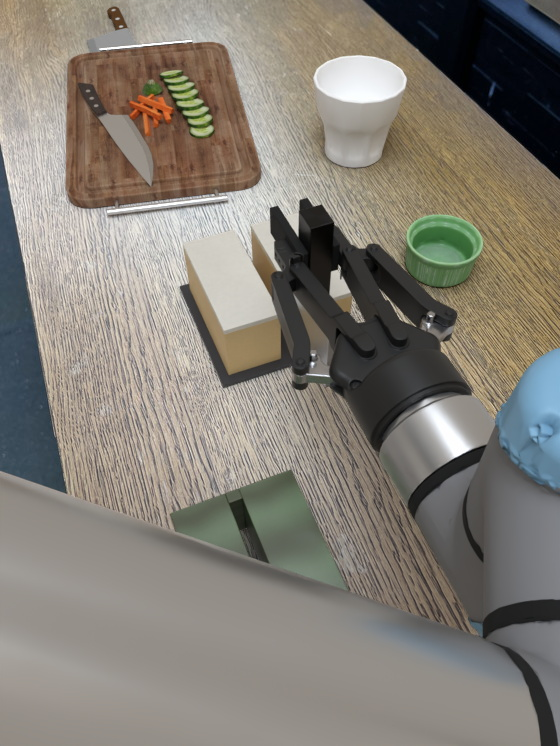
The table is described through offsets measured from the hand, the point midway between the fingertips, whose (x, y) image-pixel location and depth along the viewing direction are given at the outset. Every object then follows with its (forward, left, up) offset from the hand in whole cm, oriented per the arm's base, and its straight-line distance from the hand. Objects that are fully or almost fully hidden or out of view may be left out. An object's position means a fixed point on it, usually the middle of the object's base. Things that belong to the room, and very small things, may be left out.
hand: (288, 215), depth 56 cm
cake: (-6, +2, -19) cm, 20 cm away
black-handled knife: (+5, -2, -13) cm, 14 cm away
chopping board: (-49, +17, -19) cm, 55 cm away
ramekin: (+2, +23, -19) cm, 30 cm away
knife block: (+17, -19, -19) cm, 32 cm away
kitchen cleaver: (-74, +26, -19) cm, 81 cm away
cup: (-22, +33, -19) cm, 44 cm away
